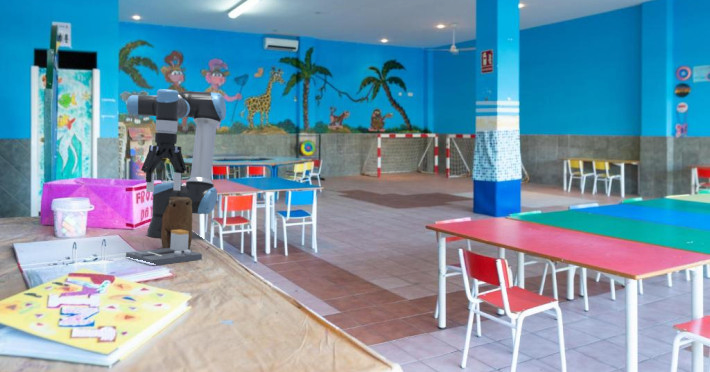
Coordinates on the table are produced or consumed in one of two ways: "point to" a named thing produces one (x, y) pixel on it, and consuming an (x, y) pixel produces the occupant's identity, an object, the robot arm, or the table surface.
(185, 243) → the fader tab
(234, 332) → the table surface
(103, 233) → the table surface
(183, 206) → the brown rounded upright piece
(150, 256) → the console board
